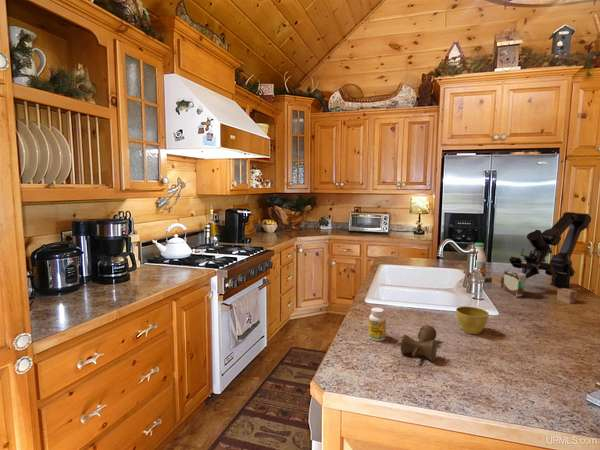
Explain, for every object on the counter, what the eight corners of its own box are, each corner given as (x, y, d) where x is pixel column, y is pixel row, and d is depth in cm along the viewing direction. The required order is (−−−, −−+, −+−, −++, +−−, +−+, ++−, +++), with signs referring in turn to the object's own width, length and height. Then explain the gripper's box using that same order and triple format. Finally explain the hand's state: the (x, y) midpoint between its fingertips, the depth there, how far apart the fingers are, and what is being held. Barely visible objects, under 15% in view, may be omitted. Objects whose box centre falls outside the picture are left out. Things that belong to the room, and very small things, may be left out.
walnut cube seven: (563, 298, 156) (564, 287, 155) (576, 302, 152) (577, 290, 151) (556, 300, 154) (557, 289, 153) (569, 303, 149) (570, 292, 149)
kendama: (444, 344, 112) (430, 370, 95) (413, 338, 117) (395, 361, 100) (444, 326, 111) (431, 349, 94) (413, 320, 116) (395, 341, 99)
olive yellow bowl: (461, 323, 128) (462, 304, 127) (491, 331, 120) (493, 311, 120) (450, 331, 120) (451, 311, 120) (481, 340, 113) (482, 319, 113)
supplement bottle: (385, 335, 116) (386, 307, 115) (384, 342, 111) (385, 313, 110) (369, 333, 118) (370, 305, 117) (367, 340, 113) (368, 311, 112)
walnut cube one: (498, 283, 180) (499, 273, 179) (507, 286, 175) (508, 276, 174) (491, 284, 178) (492, 274, 177) (500, 287, 173) (501, 277, 172)
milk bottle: (469, 281, 183) (471, 243, 181) (468, 277, 190) (470, 241, 188) (485, 283, 180) (488, 244, 178) (484, 279, 187) (486, 242, 185)
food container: (532, 298, 155) (533, 276, 154) (518, 299, 155) (519, 277, 154) (514, 290, 168) (515, 270, 166) (501, 290, 167) (503, 270, 166)
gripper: (512, 240, 171) (495, 264, 167) (553, 246, 154) (535, 273, 151) (522, 254, 175) (505, 278, 172) (562, 262, 158) (545, 289, 155)
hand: (521, 279), depth 162 cm, fingers closed
